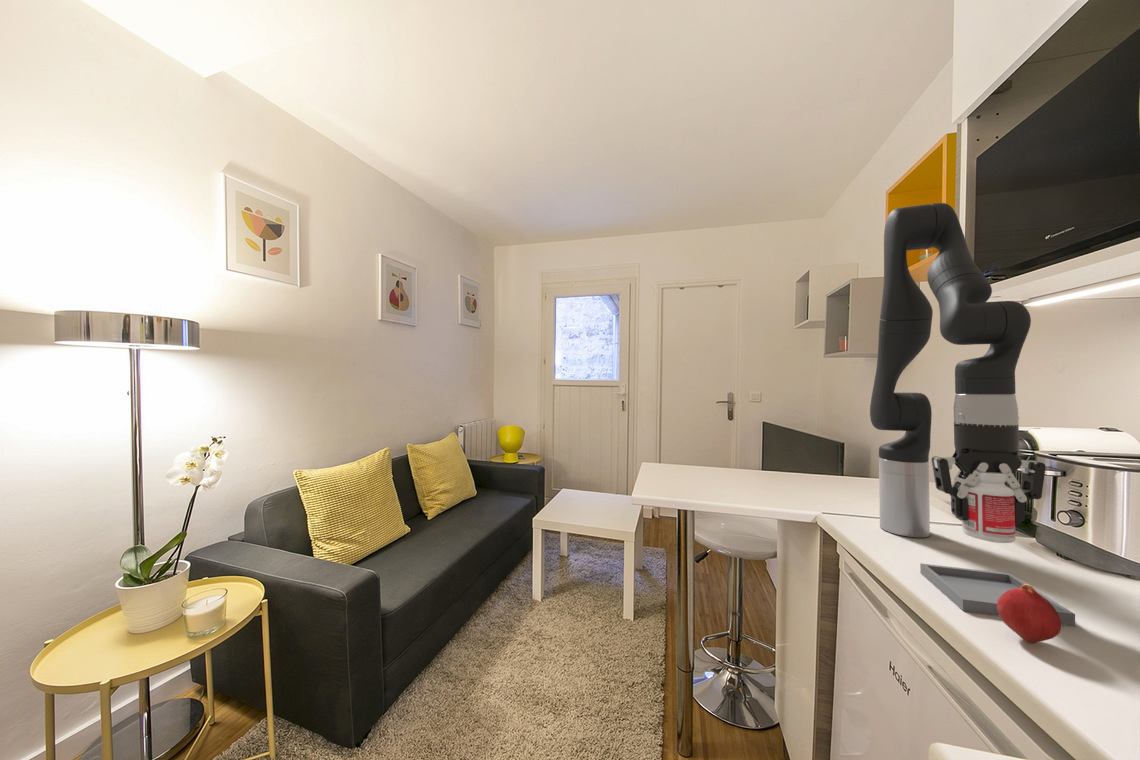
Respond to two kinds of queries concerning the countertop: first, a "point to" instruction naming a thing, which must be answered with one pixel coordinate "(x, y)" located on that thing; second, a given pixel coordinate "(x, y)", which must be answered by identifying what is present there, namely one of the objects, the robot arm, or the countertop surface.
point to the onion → (1029, 614)
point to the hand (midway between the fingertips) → (986, 520)
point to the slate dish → (980, 589)
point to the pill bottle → (991, 509)
